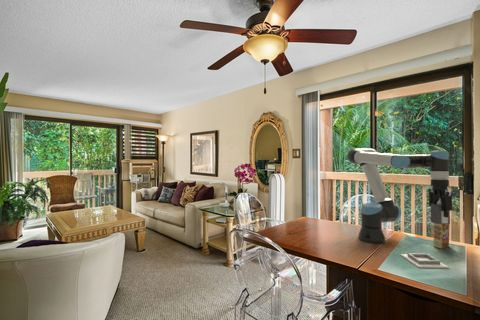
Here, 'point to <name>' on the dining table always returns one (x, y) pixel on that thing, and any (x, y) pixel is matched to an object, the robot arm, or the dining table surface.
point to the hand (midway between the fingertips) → (440, 221)
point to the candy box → (441, 235)
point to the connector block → (437, 213)
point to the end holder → (423, 260)
